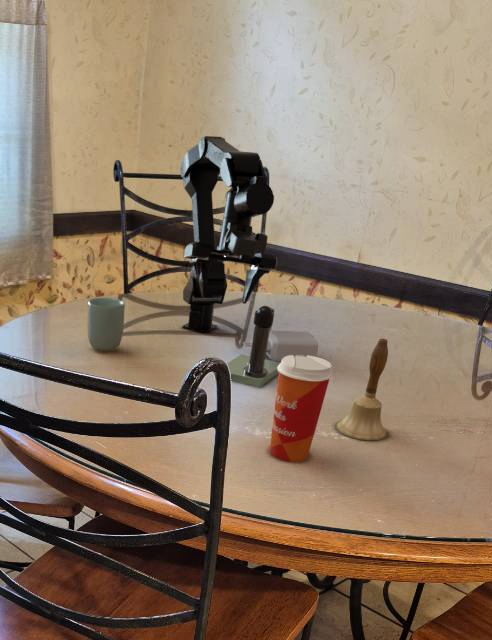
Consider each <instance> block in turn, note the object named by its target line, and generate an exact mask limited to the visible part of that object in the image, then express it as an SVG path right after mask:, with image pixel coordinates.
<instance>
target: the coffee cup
mask: <svg viewBox="0 0 492 640" xmlns="http://www.w3.org/2000/svg"><path fill="white" fill-rule="evenodd" d="M279 363H280V364H279V365H278V367H277V370H278V371H279V373H278V374H277V385H276V391H275V392H276V393H275V401H274V409H273V418H272V427H271V436H270V446H269V447H270V448H269V453H270V454H271V456H272V457H274V458H276V459H278V460H280V461H284V462H290V463H299V462H303V461H305V460H307V458H308V456H309V453H310V450H311V447H312V444H313V440H314V436H315V433H316V429H317V425H318V422H319V418H320V415H321V412H322V408H323V405H324V400H325V397H326V393H327V390H328V387H329V382H330V380H331V379H332V378H333V377H334V373H333V371H332V364H331V363H330V362H329V361H328V360H327V359H324V358H321V357H318V356H316V357H314V356H308V355H307V357H304V355H296V356H293V355H289V356H285V357H284V358H283V359H282V361H280V362H279Z"/></svg>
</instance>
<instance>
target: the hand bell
mask: <svg viewBox="0 0 492 640" xmlns="http://www.w3.org/2000/svg"><path fill="white" fill-rule="evenodd" d="M388 358H389V348H388V339H386V338H379V339H378V341H377V343H376V345H375V347H374V348H373V350H372V353H371V355H370V361H369V368H368V369H369V378H368V382H367V385H366V390H365V393H364V395H363V396H359V397H357V398H355V400H354V402H353V405H352V406H351V409H350V411H349V412H348V414H347V415H346V417H345V418H343V419H341V420H339V422H338V423H337V424H336V429H337V430H338V432H339V433H340V434H342V435H345V436H346V437H348V438H352V439H356V440H359V441H360V440H361V441H369V442H371V441H373V442H374V441H379V440H383V439H384V438H385V437H386V436H387V431H386V429H385V427H384V426H383V423H382V418H381V417H382V416H381V415H382V406H383V405H382V402H381V401H380V400H379V399H377V398H376V397H377V392H378V391H377V390H378V386H379V381H380V379H381V378H380V377H381V375H382V373H383V372H384V370H385V368H386V365H387V363H388Z"/></svg>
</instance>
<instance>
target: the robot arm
mask: <svg viewBox="0 0 492 640" xmlns="http://www.w3.org/2000/svg"><path fill="white" fill-rule="evenodd" d="M180 176H181V178H182V183H183V189H184V190H185V192H186V193H187V194H188V196H189V197H190V199H191V210H192V212H191V213H192V225H193V228H192V229H193V241H194V242H193V241H192V242H190V243H188V244H187V245H186V246H185V249H184V254H183V258H184V259H185V258H186V259H189V264H192V265H193V266H192V268H191V270H190V271H189V278H188V280H187V282H186V284H185V286H184V288H183V290H182V294H183V295H182V300H183V301H184V302H185V303H186V304H188V305H189V312H188V321H187V322H188V323H185V324H183V325H182V329H185V330H186V329H187V330H190V331H196V332H200V333H204V334H205V333H208V332H211V331H212V330H215V329H216V328H218V325H217V324H213V318H214V310H215V305H217V304H218V305H223V303H224V300H225V296H226V292H227V289H228V280H227V277H226V273H225V270H226V269H225V267H226V266H225V265H226V264H225V263H224V261H225V262H231V263H235V264H243V265H249V267H250V269H247V270H246V274H245V281H244V287H243V293H242V304H243V305H246V304H247V302H248V300H249V299H250V297H251V295H252V293H253V291H254V289H255V287H256V286H257V284H258V282H259V281H260V280H261V278H262V277H263V276H265V275H267V274H270V272H271V271H276V270H277V267H278V261H279V260H278V258H277V255H276V254H275V255H274V254H269V253H265V251H266V248H267V246H268V245H267V244H268V237H269V236H268V235H267V234H266V233H260V232H257V233H256V234H255V235H253V226H251V225H252V219H253V218H255V217H258V216H263V215H265V214H267V213H269V211H270V210H271V209H272V207H273V205H274V201H275V195H274V191H273V189H272V187H271V186H270V185H269V184H268V180H269V178H268V176H267V174H266V171H265V168H264V165H263V161H262V159H261V156H260V155H259V153H258V152H252V151H241V150H239V149H238V148H237V147H235V146H233V145H232V144H231V143H229V142H228V141H226V139H225V137H223V136H215V135H214V136H212V135H204V136H202V137H201V138H200V139H199V142H198V143H197V144H195V145H194V146H192V147H191V148H190V149H188V150H187V151H186V153H185V155H184V157H183V159H182V161H181V164H180ZM219 177H220V178H221V180H222V181H223V183H224V184H225V185H226V187H227V188H230V189H229V190H227V192H226V193H225V195H224V198H225V204H224V205H225V206H224V212H223V218H222V224H221V225H220V227H219V232H220V236H219V241H218V242H219V243H218V244H219V245H218V246H217V247H216V236H215V223H214V221H215V220H214V205H213V204H214V203H213V191H214V189H215V188H216V185H217V184H218V181H219Z"/></svg>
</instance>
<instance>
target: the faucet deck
mask: <svg viewBox="0 0 492 640" xmlns="http://www.w3.org/2000/svg"><path fill="white" fill-rule="evenodd" d="M269 333H270V326H269V327H262V326H257V325H255V324H254V328H253V334H252V339H253V341H252V347H250V355H248V354H243V353H242V354H239V355H238V356H236V357H235V358H233V359H231V360H230V361H227V364H228V366H229V369H230V372H231V379H232V381H231V382H234V383H240V384H243V385H248V386H252V387H255V388H261V387H263V386H264V385H266V384H267V383H268V382H269V381H270V380H272V379H273V378H275V377H276V376H278V375H279V371H278V370H277V367H278V365H279V364H280V363H281V362H280V361H273V360H271V359H270V360H269V359H266V357H267V354H266V352H267V345H268V339H269Z"/></svg>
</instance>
